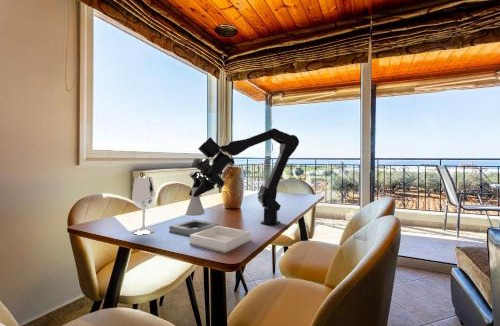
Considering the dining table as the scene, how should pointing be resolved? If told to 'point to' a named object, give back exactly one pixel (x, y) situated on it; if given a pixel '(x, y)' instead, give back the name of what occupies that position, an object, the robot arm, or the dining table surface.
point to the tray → (220, 238)
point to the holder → (185, 226)
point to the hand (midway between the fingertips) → (192, 195)
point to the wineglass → (143, 199)
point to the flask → (195, 205)
